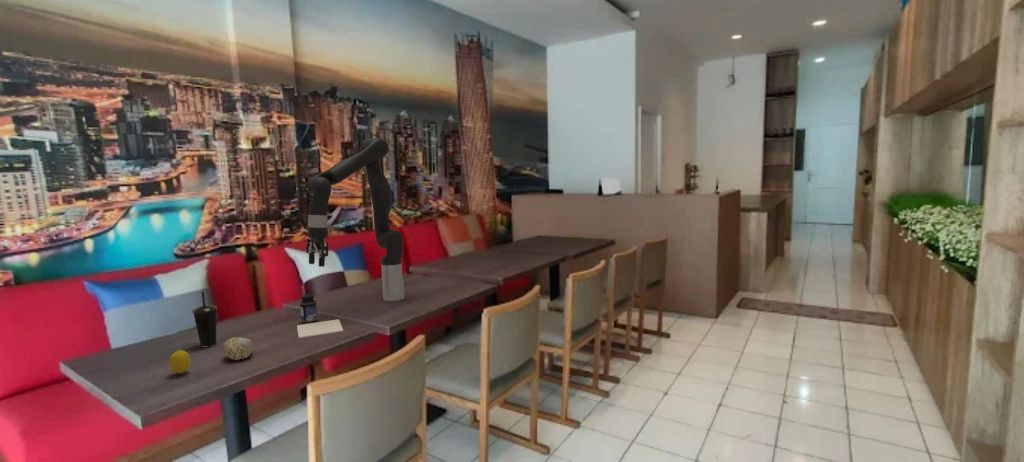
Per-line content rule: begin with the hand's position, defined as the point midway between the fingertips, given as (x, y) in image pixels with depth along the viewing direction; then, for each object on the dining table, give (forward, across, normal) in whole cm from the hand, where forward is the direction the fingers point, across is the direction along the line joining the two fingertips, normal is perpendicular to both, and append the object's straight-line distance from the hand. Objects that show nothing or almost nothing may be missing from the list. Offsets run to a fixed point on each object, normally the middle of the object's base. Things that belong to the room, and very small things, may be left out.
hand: (316, 265), depth 208 cm
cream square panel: (+24, -12, +4) cm, 27 cm away
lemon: (+30, -17, +52) cm, 63 cm away
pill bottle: (+24, 0, +2) cm, 24 cm away
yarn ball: (+28, -17, +35) cm, 48 cm away
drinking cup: (+28, +4, +38) cm, 47 cm away
